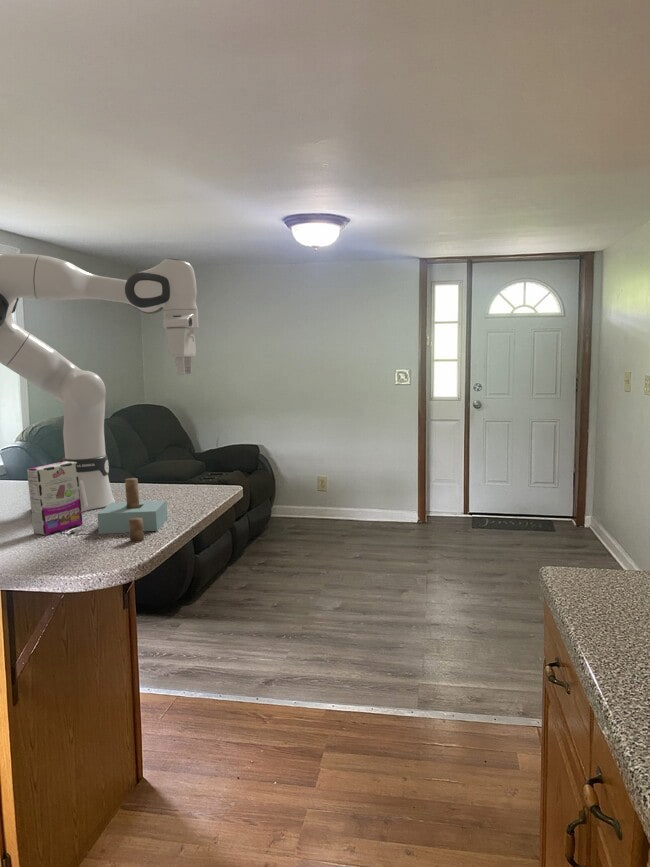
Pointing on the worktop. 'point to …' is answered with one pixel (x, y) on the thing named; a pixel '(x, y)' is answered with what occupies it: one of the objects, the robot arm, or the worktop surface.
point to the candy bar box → (54, 497)
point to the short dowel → (136, 529)
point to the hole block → (132, 516)
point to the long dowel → (132, 493)
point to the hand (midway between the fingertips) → (184, 374)
